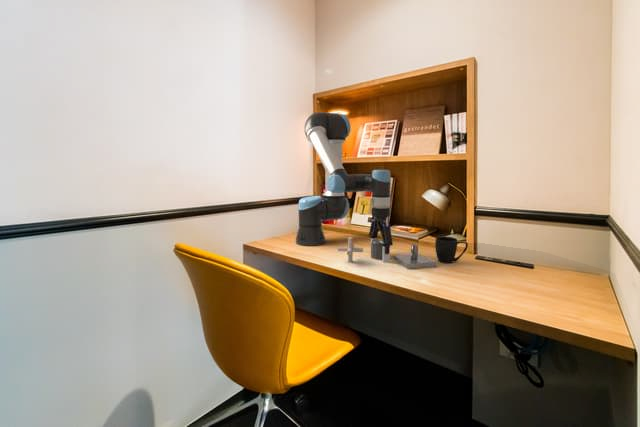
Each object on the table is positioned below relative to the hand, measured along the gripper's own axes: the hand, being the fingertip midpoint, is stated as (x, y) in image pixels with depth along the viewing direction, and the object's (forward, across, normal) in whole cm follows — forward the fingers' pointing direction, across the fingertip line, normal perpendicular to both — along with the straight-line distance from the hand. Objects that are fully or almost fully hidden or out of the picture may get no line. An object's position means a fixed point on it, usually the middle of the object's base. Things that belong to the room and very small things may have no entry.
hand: (379, 256), depth 135 cm
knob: (0, 0, 0) cm, 0 cm away
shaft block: (0, +11, +10) cm, 15 cm away
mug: (0, +13, +25) cm, 28 cm away
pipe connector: (0, +3, -14) cm, 14 cm away
